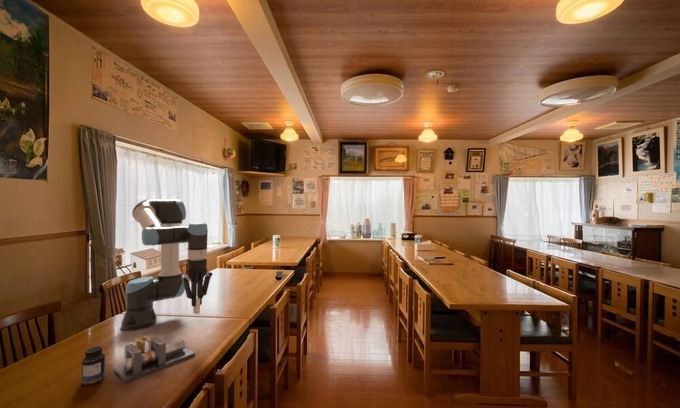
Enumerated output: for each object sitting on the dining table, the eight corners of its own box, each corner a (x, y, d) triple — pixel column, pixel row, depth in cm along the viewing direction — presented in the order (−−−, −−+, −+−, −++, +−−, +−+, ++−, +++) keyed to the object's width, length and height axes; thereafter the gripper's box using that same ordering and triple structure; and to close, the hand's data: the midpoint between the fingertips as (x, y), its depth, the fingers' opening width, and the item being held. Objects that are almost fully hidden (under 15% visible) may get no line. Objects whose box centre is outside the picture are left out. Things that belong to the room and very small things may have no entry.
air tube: (127, 373, 104) (128, 361, 104) (123, 369, 107) (123, 357, 107) (185, 351, 120) (185, 340, 120) (180, 348, 123) (180, 338, 123)
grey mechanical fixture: (114, 371, 108) (114, 347, 108) (181, 346, 127) (181, 326, 127) (125, 383, 101) (125, 357, 101) (195, 355, 120) (195, 333, 120)
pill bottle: (90, 376, 105) (91, 345, 105) (109, 375, 105) (109, 344, 106) (76, 386, 99) (77, 353, 99) (96, 385, 99) (96, 353, 99)
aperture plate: (134, 361, 113) (134, 337, 113) (143, 357, 115) (144, 334, 115) (141, 367, 109) (141, 342, 109) (151, 363, 111) (151, 339, 111)
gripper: (186, 262, 119) (185, 320, 119) (216, 257, 129) (215, 310, 130) (177, 259, 123) (176, 315, 124) (207, 255, 134) (206, 306, 134)
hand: (196, 313), depth 127 cm, fingers closed
